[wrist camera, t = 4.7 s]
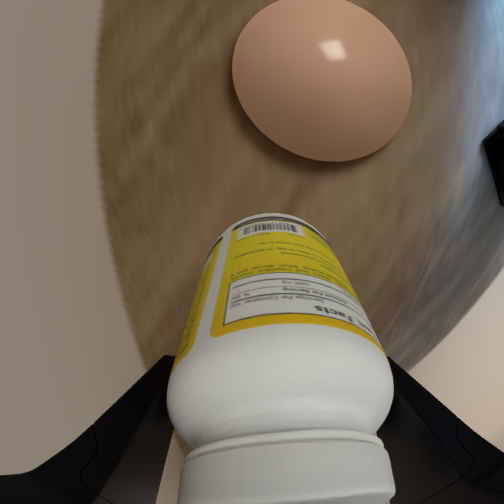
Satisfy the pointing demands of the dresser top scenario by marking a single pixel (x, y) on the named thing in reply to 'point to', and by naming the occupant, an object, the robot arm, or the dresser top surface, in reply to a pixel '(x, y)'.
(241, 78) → the tan round disc
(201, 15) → the dresser top surface
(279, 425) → the pill bottle
